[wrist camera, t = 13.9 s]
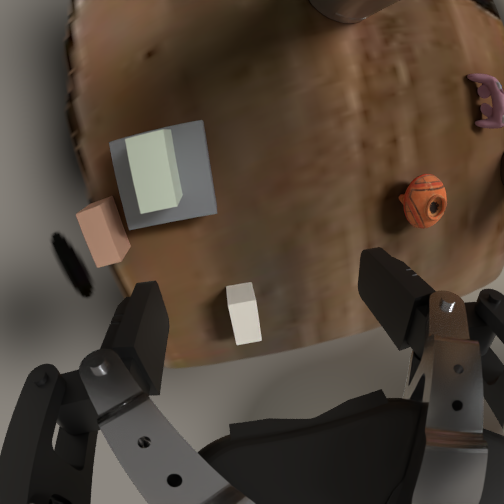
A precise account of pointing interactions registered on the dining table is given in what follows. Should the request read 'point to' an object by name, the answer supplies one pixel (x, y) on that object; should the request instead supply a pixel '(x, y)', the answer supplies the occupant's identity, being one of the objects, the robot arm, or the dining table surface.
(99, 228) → the terracotta brick
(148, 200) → the sage brick
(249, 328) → the cream brick
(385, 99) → the dining table surface
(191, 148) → the charcoal block
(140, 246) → the dining table surface
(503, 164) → the brown bottle
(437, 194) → the pot
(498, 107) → the video game controller
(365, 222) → the dining table surface
